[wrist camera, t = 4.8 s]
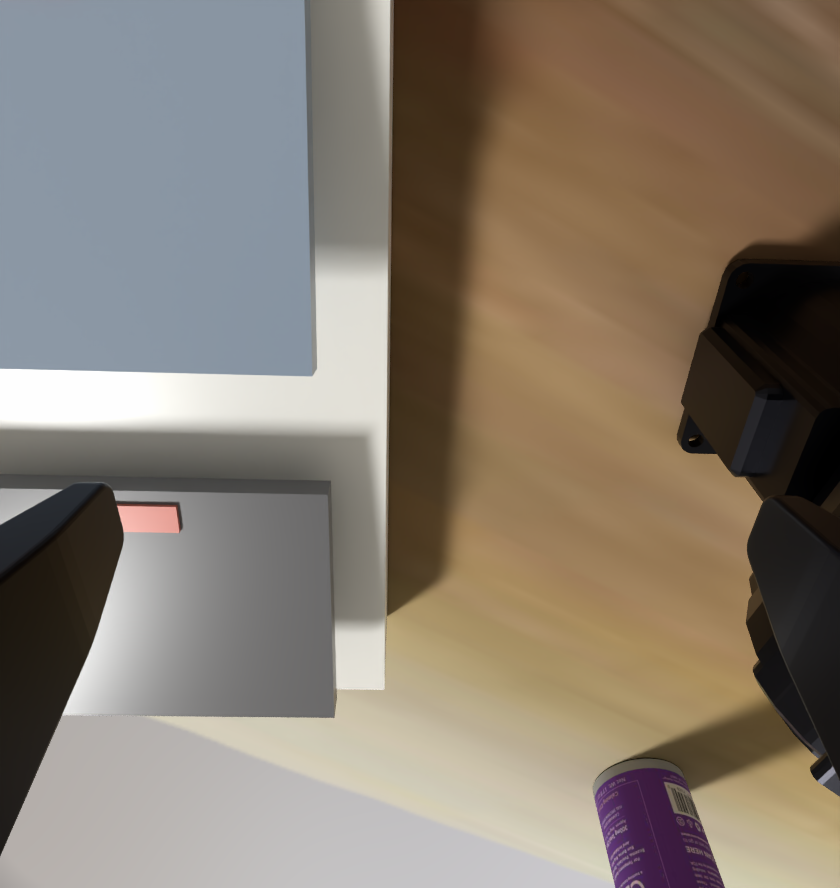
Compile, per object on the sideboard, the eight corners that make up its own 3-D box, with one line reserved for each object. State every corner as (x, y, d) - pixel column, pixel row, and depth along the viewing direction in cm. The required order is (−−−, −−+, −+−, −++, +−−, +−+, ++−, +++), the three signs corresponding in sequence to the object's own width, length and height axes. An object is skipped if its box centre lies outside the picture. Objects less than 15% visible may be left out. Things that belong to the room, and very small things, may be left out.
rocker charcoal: (334, 463, 19) (327, 496, 18) (339, 674, 23) (333, 720, 21) (-53, 455, 19) (-100, 488, 17) (10, 670, 22) (-24, 717, 21)
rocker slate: (316, -37, 13) (301, -79, 11) (322, 359, 16) (311, 377, 14) (-250, -61, 13) (-359, -108, 11) (-152, 347, 15) (-228, 364, 14)
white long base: (396, -220, 14) (392, -289, 11) (386, 617, 27) (384, 694, 24) (-294, -256, 14) (-503, -338, 10) (41, 612, 27) (-7, 690, 24)
